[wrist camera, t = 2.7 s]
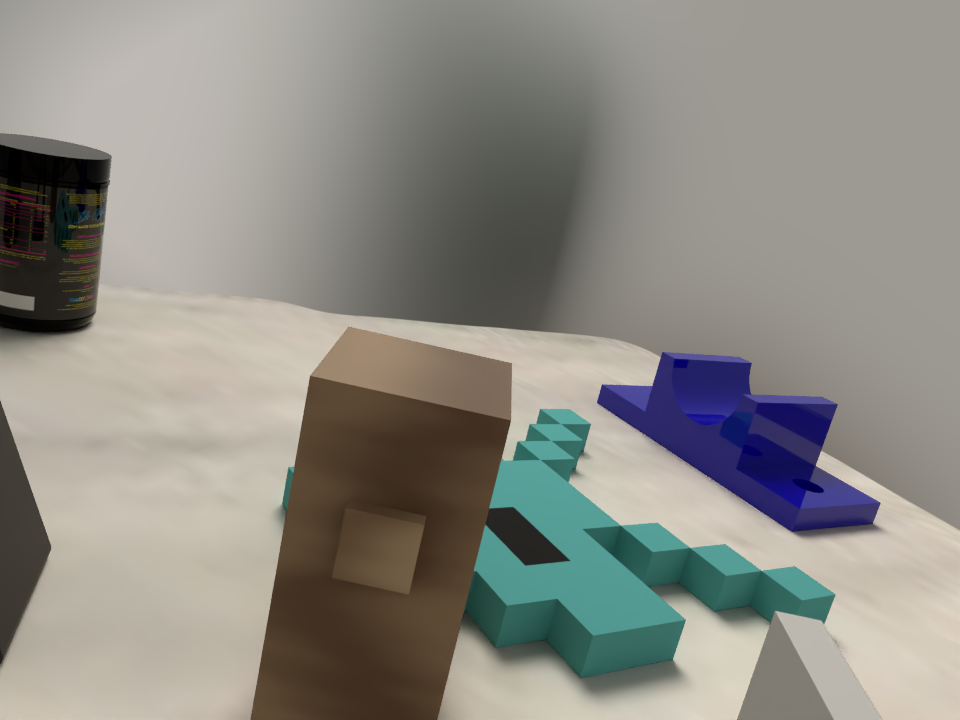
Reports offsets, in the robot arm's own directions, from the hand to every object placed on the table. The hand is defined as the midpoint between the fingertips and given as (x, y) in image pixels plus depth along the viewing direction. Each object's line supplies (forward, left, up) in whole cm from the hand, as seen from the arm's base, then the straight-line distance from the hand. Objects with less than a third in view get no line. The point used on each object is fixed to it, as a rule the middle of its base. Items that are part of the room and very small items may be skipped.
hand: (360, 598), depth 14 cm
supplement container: (-25, +38, -10) cm, 47 cm away
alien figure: (+5, +24, -11) cm, 27 cm away
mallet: (0, +14, -10) cm, 17 cm away
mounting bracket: (+19, +40, -11) cm, 46 cm away
